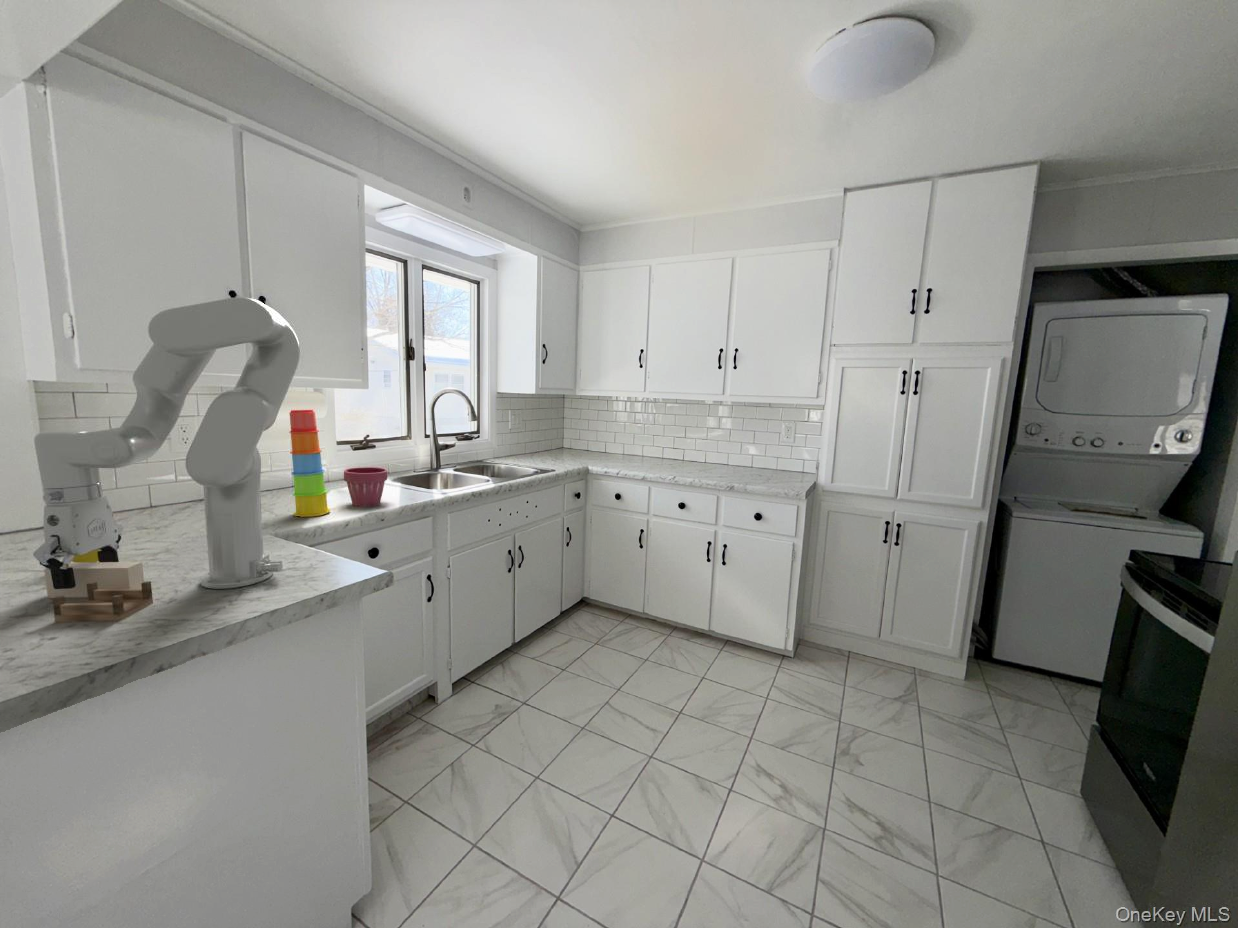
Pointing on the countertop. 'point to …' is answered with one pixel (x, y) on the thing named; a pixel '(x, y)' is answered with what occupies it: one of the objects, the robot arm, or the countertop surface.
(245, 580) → the robot arm
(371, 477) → the plant pot
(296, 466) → the stacking cups
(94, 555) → the lemon
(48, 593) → the clay bar
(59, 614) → the rack
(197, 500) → the countertop surface
